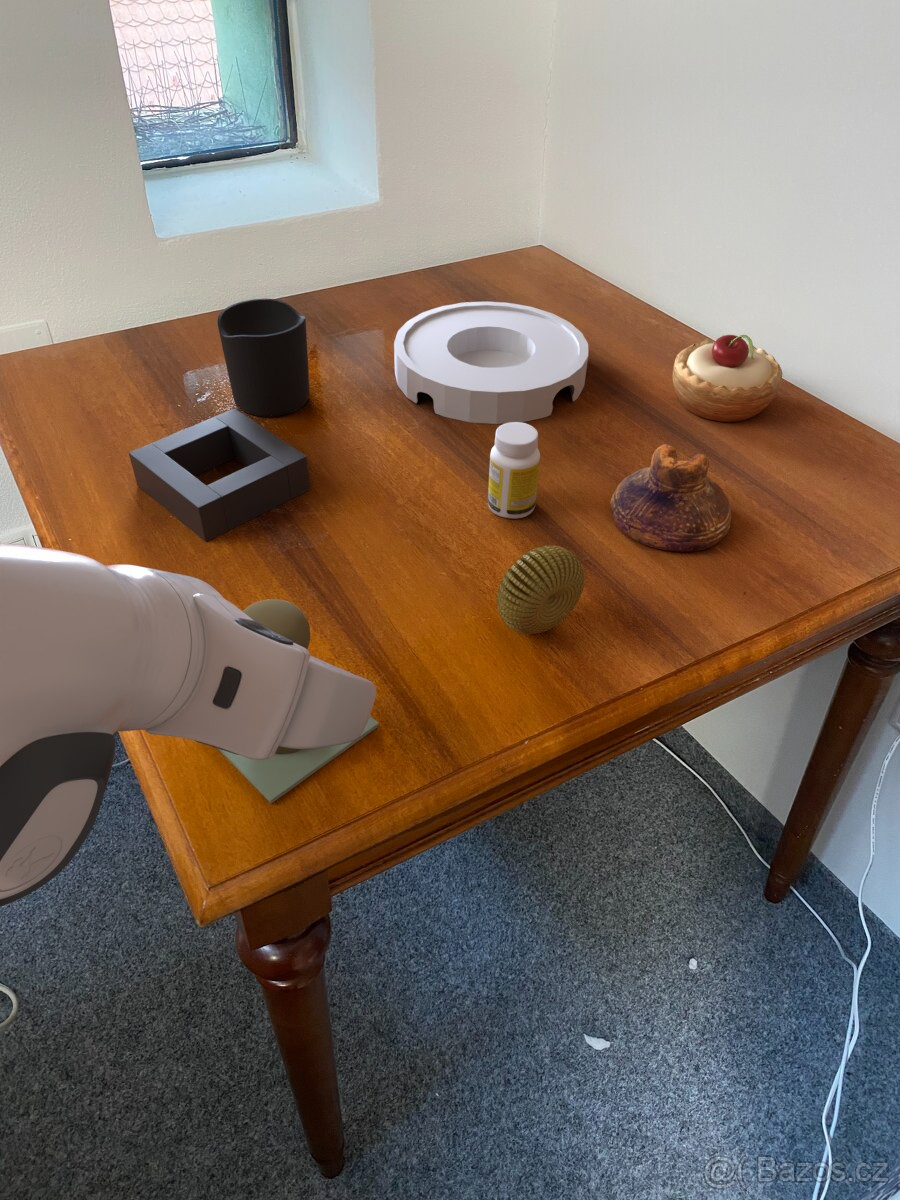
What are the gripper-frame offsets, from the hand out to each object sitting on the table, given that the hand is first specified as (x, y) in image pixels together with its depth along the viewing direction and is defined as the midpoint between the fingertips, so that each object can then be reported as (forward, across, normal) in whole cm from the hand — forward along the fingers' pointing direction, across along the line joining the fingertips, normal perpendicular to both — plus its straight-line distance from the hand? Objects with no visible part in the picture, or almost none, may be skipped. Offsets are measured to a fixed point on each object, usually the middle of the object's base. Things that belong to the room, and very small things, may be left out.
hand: (282, 658), depth 62 cm
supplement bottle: (+28, +3, +18) cm, 34 cm away
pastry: (+50, +15, +40) cm, 66 cm away
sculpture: (+18, +12, +8) cm, 23 cm away
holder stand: (+20, -24, +10) cm, 33 cm away
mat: (+4, 0, -5) cm, 7 cm away
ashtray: (+45, -11, +34) cm, 58 cm away
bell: (+33, +17, +22) cm, 43 cm away
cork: (+4, 0, -5) cm, 7 cm away
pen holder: (+32, -30, +22) cm, 49 cm away
